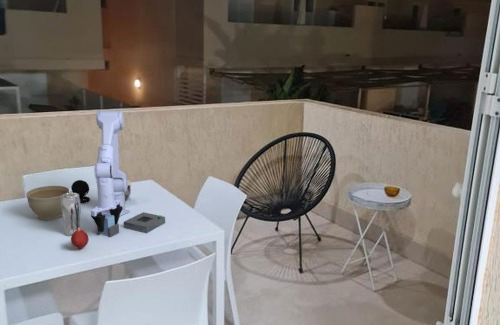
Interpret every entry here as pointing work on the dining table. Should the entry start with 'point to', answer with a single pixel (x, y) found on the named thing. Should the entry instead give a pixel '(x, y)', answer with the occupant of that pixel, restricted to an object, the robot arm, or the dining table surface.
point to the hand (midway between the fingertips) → (108, 228)
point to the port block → (144, 222)
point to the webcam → (81, 190)
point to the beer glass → (71, 212)
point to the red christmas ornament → (79, 239)
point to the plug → (108, 223)
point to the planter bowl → (46, 201)
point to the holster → (111, 230)
